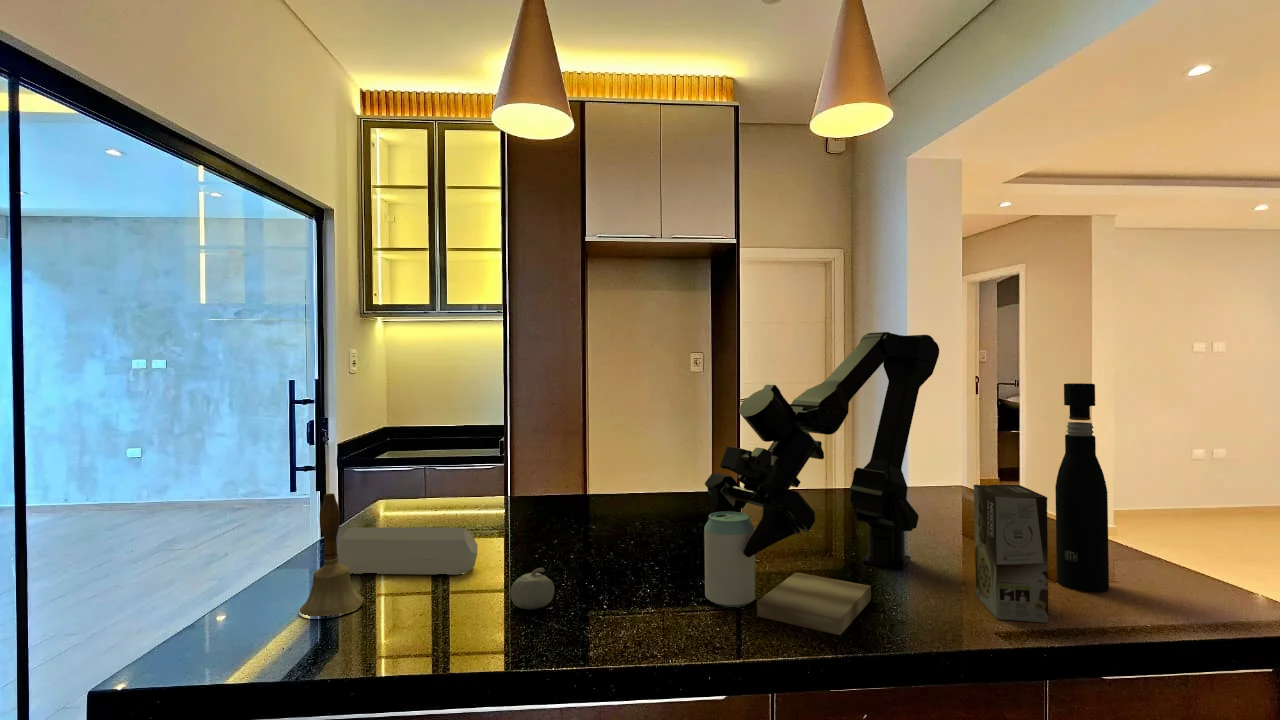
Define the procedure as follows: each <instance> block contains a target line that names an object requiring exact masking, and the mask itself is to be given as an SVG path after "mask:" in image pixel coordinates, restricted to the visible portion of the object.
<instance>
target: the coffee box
mask: <svg viewBox="0 0 1280 720" xmlns="http://www.w3.org/2000/svg"><path fill="white" fill-rule="evenodd" d="M1048 499H1049V498H1048V497H1047V496H1045V495H1043V494H1040V493H1039V492H1036V491H1034V490H1032V489H1030V488H1028V487H1025V486H1022V485H1021V484H1020V485H1019V484H973V514H974V515H973V517H974V519H973V520H974V527H973V528H974V553H975V554H974V556H975V558H974V559H975V560H974V562H975V563H974V565H975V566H974V567H975V596H976V598H977V599H979V601H980V602H981V603H982V604H983V605H984V606H985V607H986V608H987V610H989V612H991V614H992V615H993V616H994V617H995V618H996V619H998V620H1002V621H1003V620H1005V621H1015V622H1016V621H1018V622H1031V623H1043V624H1047V623H1048V622H1049V560H1048V559H1049V554H1048V553H1049V552H1048V550H1049V549H1048V545H1049V544H1048V542H1049V540H1048V539H1049V538H1048Z"/></svg>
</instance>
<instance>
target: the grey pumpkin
mask: <svg viewBox="0 0 1280 720" xmlns="http://www.w3.org/2000/svg"><path fill="white" fill-rule="evenodd" d="M544 572H545V568H544V567H539V568H536V569H534V570H533V571H532V572H529V573H525V574H522V575H521V576H520V577H518V578H517V579H516V580H515V581H514V582H513V583H512V585H511V588H510V599H511V601H512V603H513V604H514V605H515V606H516V607H517V608H518V609H521V610H536V609H541V608H545V607H547V605H548V604H550V603H551V602H552V600H553V598H554V596H555V585H554V582H553V581H552V580H551V579H549V577H548V576H546V575H543V574H542V573H544Z"/></svg>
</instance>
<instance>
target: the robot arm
mask: <svg viewBox="0 0 1280 720" xmlns="http://www.w3.org/2000/svg"><path fill="white" fill-rule="evenodd" d="M939 347H940V346H939V344H938V342H936V341H935V339H934V338H933V337H932V336H931V335H930V334H915V335H914V334H911V335H903V334H901V335H900V334H896V333H891V332H889V331H884V332H883V331H882V332H868V333H866V334H864V335H863V336H862V337H861V339H860V342H859V343H858V344H857V346H856V347H854V349H852V351H851V352H850V353H849V354H848V355H847V356H846V358H844V360H843V361H842V362H841V363H840V364H839V365H838V366H837V367H836V368H835V369H834V370H833V372H832V373H831V374H830V375H829V376H828V377H827V378H826V379H825V380H824V381H822V382H821V383H819V384H817V385H815V386H813V387H810V388H808V389H806V390H805V391H803V392H802V393H801V394H799V395H798V396H797V397H795V398H794V399H793V400H792V402H791V403H789V402H788V401H787V400H786V398H785V397H784V396H783V394H782V393H781V390H780V389H779V387H778V386H777V385H776V384H765V385H764V387H763V388H762V389H760V390H758V391H757V390H756V392H753V393H752V394H750V396H748V397H746V398H744V399H743V401H742V402H741V404H740V406H739V414H740V416H741V417H742V418H743V419H744V420H745V422H746V423H747V424H748V425H749V426H750V428H752V431H754V432H755V434H756V435H757V436H758V437H759V438H760V440H761V441H763V442H767V443H770V442H772V443H771V444H770V445H769V447H768V448H767V449H766V448H763V447H755V448H754V449H753V450H749V449H744V448H739V447H734V446H729V445H727V446H726V447H725V450H724V454H723V456H722V459H721V461H720V464H719V467H720V468H721V469H723V470H729V471H731V472H733V473H735V474H737V476H736V479H737V480H738V482H739V483H742V484H743V487H741V485H740V484H739V483H738V482H737V481H736V479H735V478H733V476H732V475H728V474H723V473H719V472H717V473H711V474H710V475H709V477H708V478H707V480H706V481H705V482H704V485H705V486H706V488H707V493H708V494H709V495H710V499H711V505H710V511H709V514H708V518H707V520H706V523H707V522H708V520H709V515H710V514H712V513H716V512H739V511H740V510H742V509H744V508H745V507H746V505H747V504H750V505H753V506H757V507H761V508H762V517H761V519H760V521H759V523H758V524H757V526H756V527H755V528H754V529H755V531H754V533H753V534H752V536H751V538H750V539H749V541H748V543H747V545H746V547H745V549H744V551H743V553H744V555H745V556H746V557H751V556H753V555H754V554H755V555H756V554H758V553H760V552H762V551H764V550H765V549H766V548H768V547H770V546H773V545H774V544H776V543H778V542H780V541H783V540H785V539H786V538H788V537H791V536H793V535H796V536H797V535H800V533H801V531H803V532H806V533H809V531H810V530H811V529H812V527H813V525H814V524H815V522H816V512H815V510H814V509H813V508H812V506H810V505H809V503H808V502H807V501H806V499H805V498H804V497H803V495H801V494H800V492H799V491H796V490H792V489H790V488H791V487H794V488H799V486H800V484H801V480H799V477H798V476H799V474H800V473H801V471H802V470H803V469H804V467H805V465H806V464H807V463H808V461H809V459H817V460H824V459H825V452H824V450H823V448H822V447H823V446H822V441H820V440H815V438H814V437H813V436H812V435H811V434H819V435H827V436H829V435H834V434H835V433H836V432H837V431H839V429H840V427H841V426H842V424H843V423H844V422H845V419H846V417H847V416H848V414H849V410H850V409H849V406H850V402H851V400H852V399H853V398H854V396H856V394H857V393H859V391H860V390H861V388H862V387H864V385H865V384H866V383H867V381H868V380H869V379H870V378H871V377H872V376H873V375H874V373H875V372H876V371H877V370H878V369H879V368H880V367H881V366H883V369H884V371H885V374H886V377H887V380H888V383H887V388H886V392H885V397H884V400H883V405H882V409H881V414H880V418H879V423H878V425H877V426H878V427H877V431H876V434H875V439H874V444H873V448H872V453H871V457H870V460H869V462H868V463H867V464H866V465H865V466H864V467H863V468H862V467H856V468H855V470H854V471H853V476H852V482H851V484H850V487H849V488H848V491H849V492H850V497H849V499H850V501H849V502H850V503H851V505H852V508H853V511H854V515H855V519H856V521H857V522H860V523H866V524H867V536H868V537H867V540H868V543H867V544H868V545H867V546H868V552H867V554H866V555H865V556H864V557H862V559H861V563H864V564H870V565H874V566H880V567H881V566H882V567H887V568H893V569H900V570H902V569H904V568H905V567H906V566H907V564H908V563H909V562H911V560H912V559H911V556H909V555H905V553H906V551H905V549H906V547H905V546H906V545H905V538H906V537H905V536H906V535H905V532H913V530H914V529H916V528H917V527H918V521H919V514H918V512H916V510H915V509H914V508H913V506H912V505H911V504H910V502H909V501H908V500H907V497H908V484H907V482H906V479H905V476H904V473H903V471H902V466H903V462H904V460H905V459H904V458H905V455H906V450H907V444H908V440H909V435H910V431H911V427H912V423H913V418H914V413H915V409H916V406H917V405H916V404H917V400H918V395H919V391H920V388H921V386H923V384H925V382H926V381H928V379H929V378H930V377H931V376H932V375H933V374H934V371H935V368H936V364H938V363H937V362H938V358H939V356H940V348H939ZM702 537H703V539H704V540H705V537H704V533H703V534H702Z"/></svg>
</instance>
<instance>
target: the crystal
mask: <svg viewBox="0 0 1280 720" xmlns="http://www.w3.org/2000/svg"><path fill="white" fill-rule="evenodd" d="M337 554H338V556H337V557H338V563H339V564H341V565H344V566H347V567H348V568H349V574H350V575H353V574H354V575H356V574H357V575H362V574H363V573H377V574H376V575H437V574H447V575H449V576H451V575H452V576H453V575H455V576H456V575H457V576H458V575H459V574H462V573H465V572H467V571H469V572H470V571H471V570H472V569H473V568H474V567H475V564H476V561H477V557H478V543H477V541H476V539H475V537H474V535H473V534H472V533H471V532H470V531H469V530H468V529H466V528H464V527H347V529H346V530H345V532H344V533H343V534H342V536H341V537H340V540H339V541H338V543H337ZM352 573H353V574H352ZM363 575H364V574H363ZM459 576H460V575H459Z"/></svg>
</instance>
